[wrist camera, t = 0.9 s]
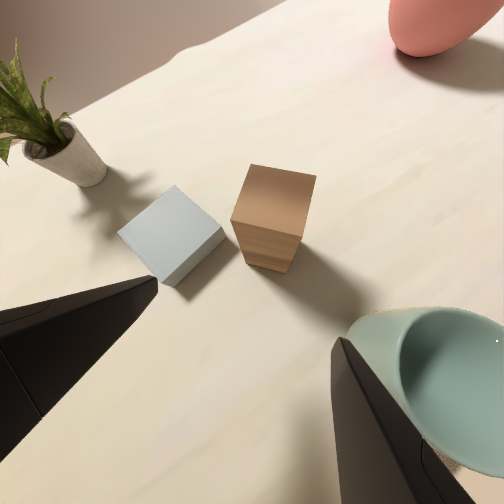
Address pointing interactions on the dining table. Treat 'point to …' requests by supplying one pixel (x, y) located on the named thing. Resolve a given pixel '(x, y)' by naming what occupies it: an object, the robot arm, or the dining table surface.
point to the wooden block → (272, 215)
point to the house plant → (44, 133)
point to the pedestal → (172, 236)
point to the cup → (442, 377)
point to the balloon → (437, 23)
